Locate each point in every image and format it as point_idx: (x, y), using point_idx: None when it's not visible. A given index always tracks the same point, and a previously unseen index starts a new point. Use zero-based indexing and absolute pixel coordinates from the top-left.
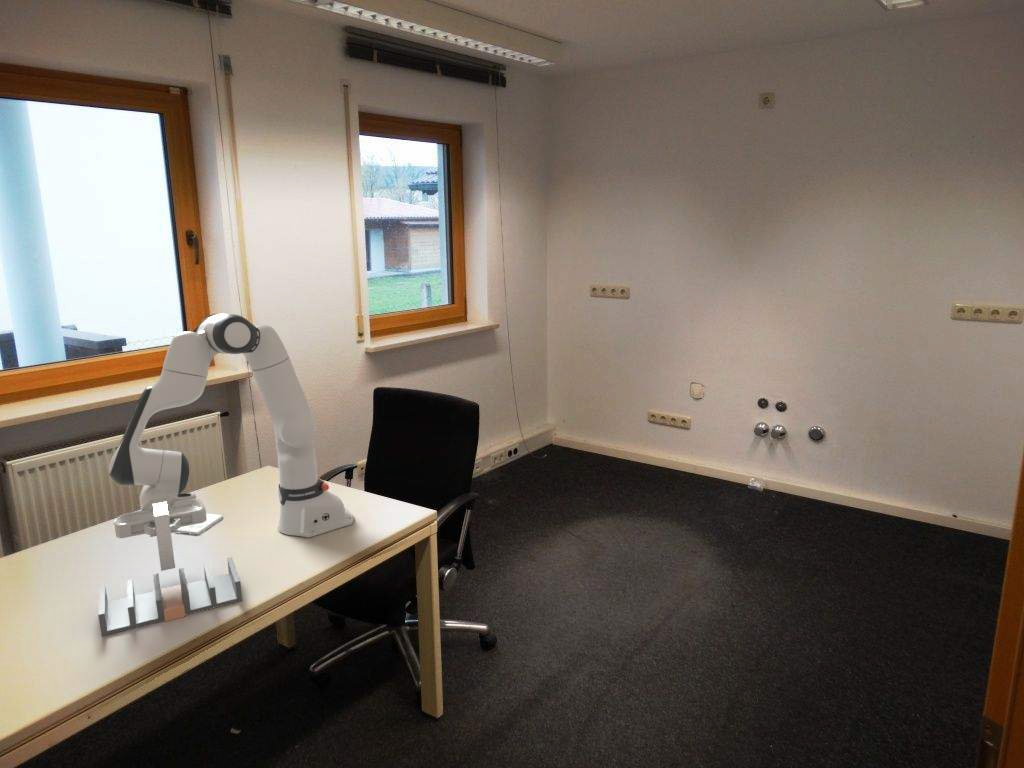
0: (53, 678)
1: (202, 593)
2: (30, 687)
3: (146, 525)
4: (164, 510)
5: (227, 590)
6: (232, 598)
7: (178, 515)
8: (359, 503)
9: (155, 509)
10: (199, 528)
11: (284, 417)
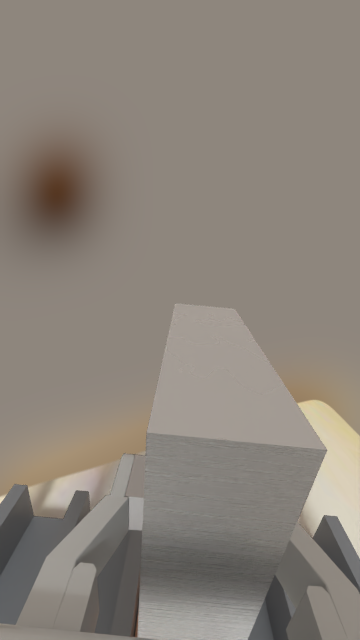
0: (331, 453)
1: None
2: (352, 450)
3: (328, 578)
4: (189, 321)
5: (9, 594)
6: (39, 523)
7: (17, 630)
8: None
9: (245, 343)
10: None
11: None
